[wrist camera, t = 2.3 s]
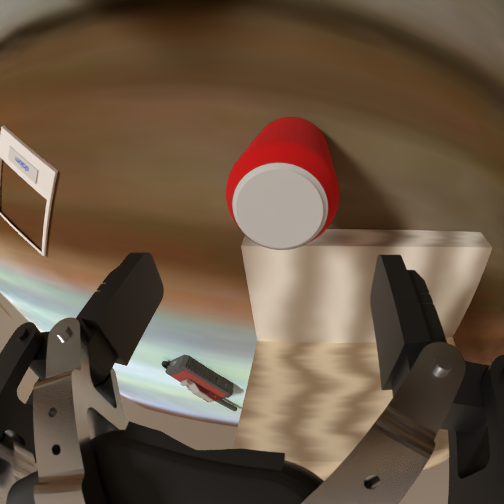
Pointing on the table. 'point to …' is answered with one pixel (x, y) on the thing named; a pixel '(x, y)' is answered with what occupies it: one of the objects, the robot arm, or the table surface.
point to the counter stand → (338, 336)
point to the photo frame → (29, 174)
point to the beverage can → (284, 186)
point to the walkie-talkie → (200, 380)
